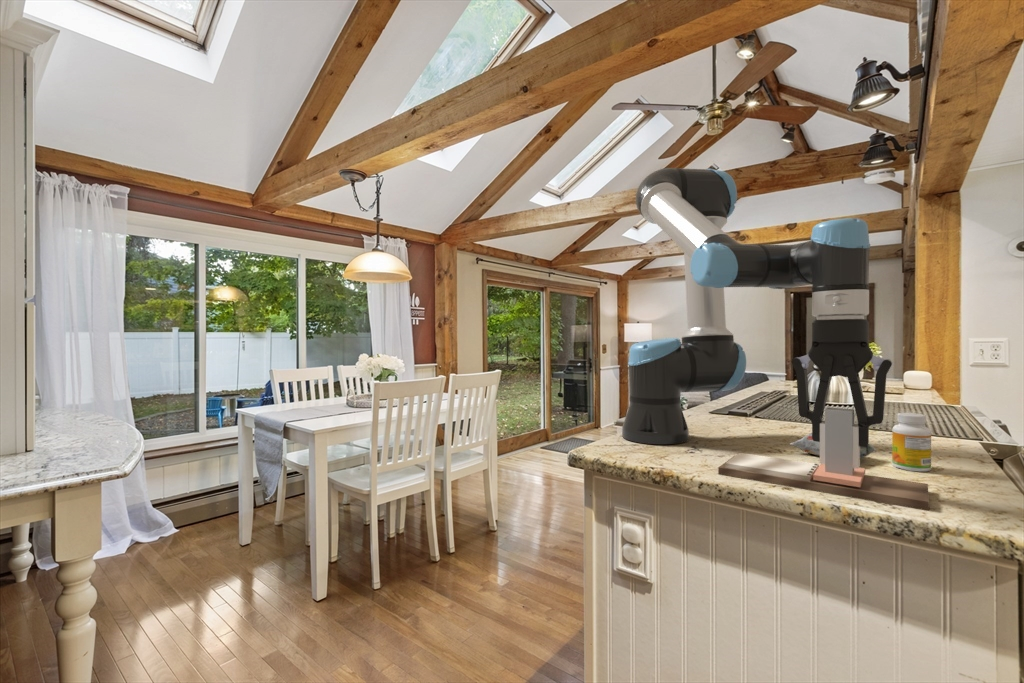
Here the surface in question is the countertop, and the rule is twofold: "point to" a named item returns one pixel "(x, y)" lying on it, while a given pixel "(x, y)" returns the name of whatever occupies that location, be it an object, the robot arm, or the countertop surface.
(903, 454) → the supplement bottle
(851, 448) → the grey upright slab piece
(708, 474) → the countertop surface
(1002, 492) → the countertop surface
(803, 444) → the packaged food
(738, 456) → the board
